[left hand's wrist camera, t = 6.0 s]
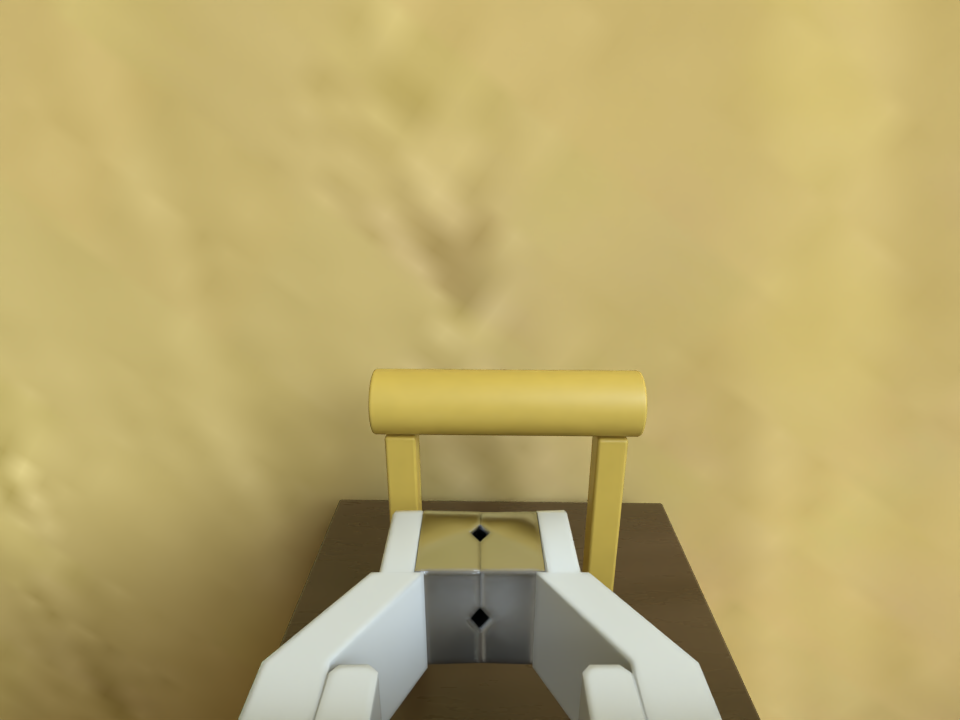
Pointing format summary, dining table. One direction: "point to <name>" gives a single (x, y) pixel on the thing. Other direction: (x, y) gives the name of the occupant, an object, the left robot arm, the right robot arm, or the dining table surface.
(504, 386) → the drawer
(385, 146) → the dining table surface
